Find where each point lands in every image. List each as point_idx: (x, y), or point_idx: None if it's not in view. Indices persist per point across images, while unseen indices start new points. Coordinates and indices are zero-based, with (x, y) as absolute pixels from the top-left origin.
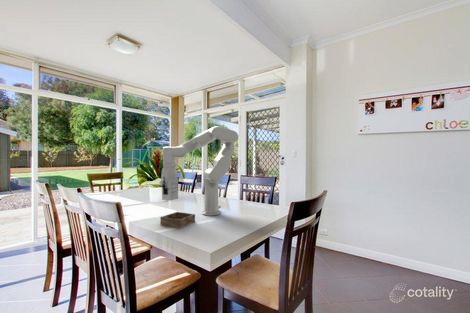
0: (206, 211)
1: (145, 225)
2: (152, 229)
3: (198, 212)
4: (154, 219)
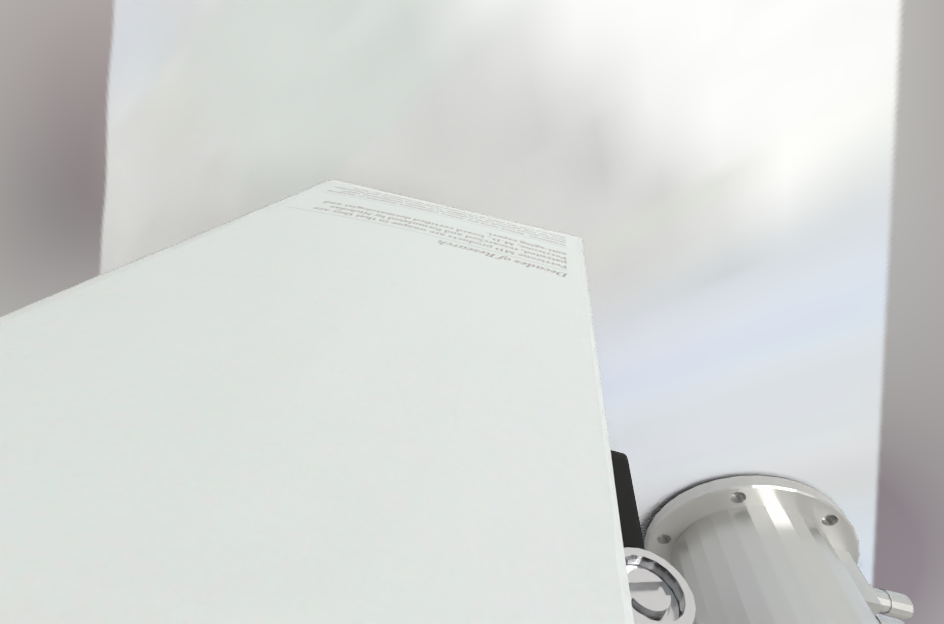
0: (686, 547)
1: (147, 113)
2: (114, 259)
3: (784, 423)
4: (359, 54)
